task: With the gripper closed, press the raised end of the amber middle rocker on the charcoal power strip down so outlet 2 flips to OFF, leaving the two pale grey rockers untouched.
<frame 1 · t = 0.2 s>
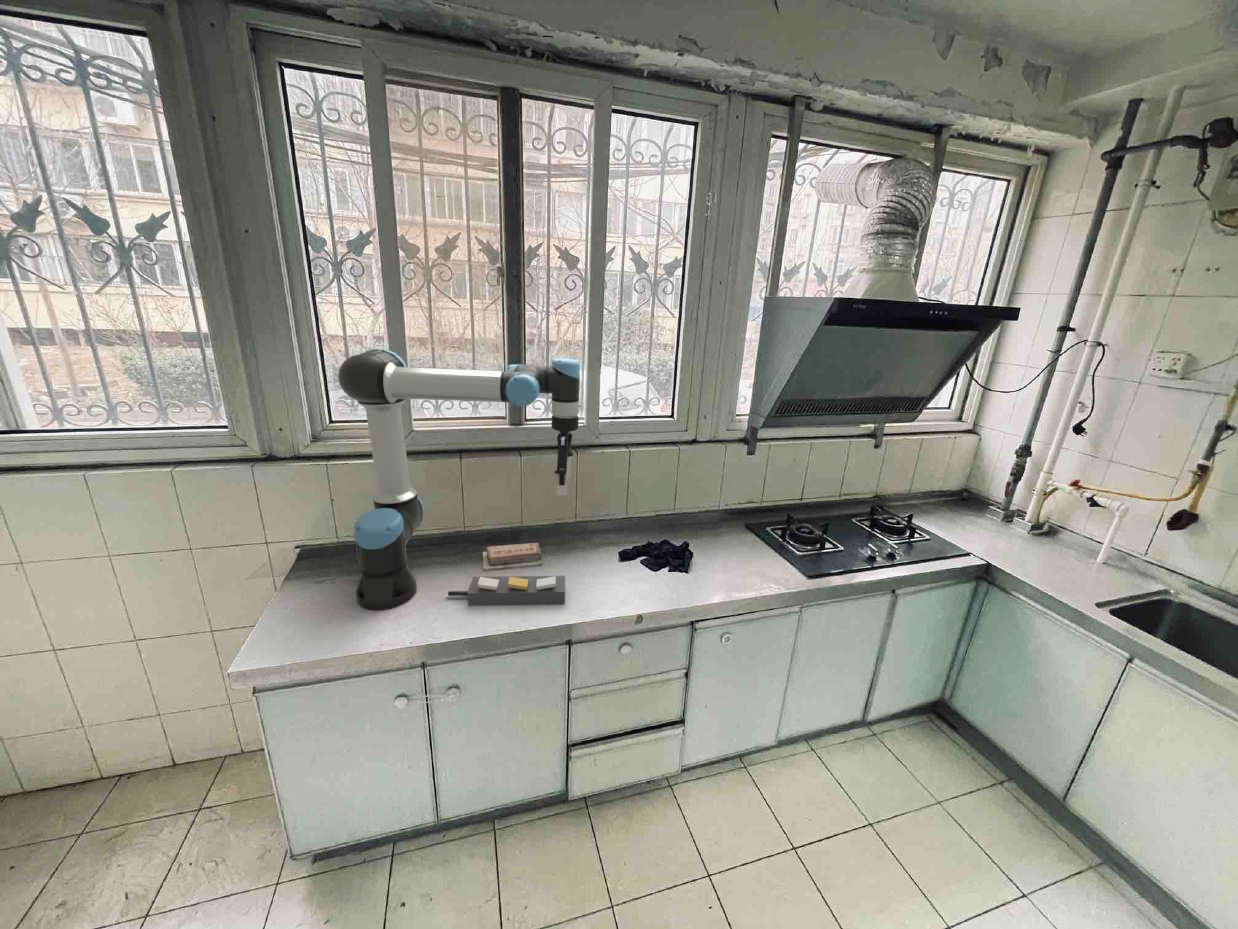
hand: (563, 485, 144), 28 cm above the table, fingers open, 13 cm apart
rocker 3: (546, 582, 135), point 5 cm above the table, hinge at -11.0°
power strip: (518, 596, 137), on the table
packaged product: (512, 561, 156), on the table
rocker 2: (518, 583, 134), point 5 cm above the table, hinge at 11.0°
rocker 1: (488, 583, 134), point 5 cm above the table, hinge at 11.0°
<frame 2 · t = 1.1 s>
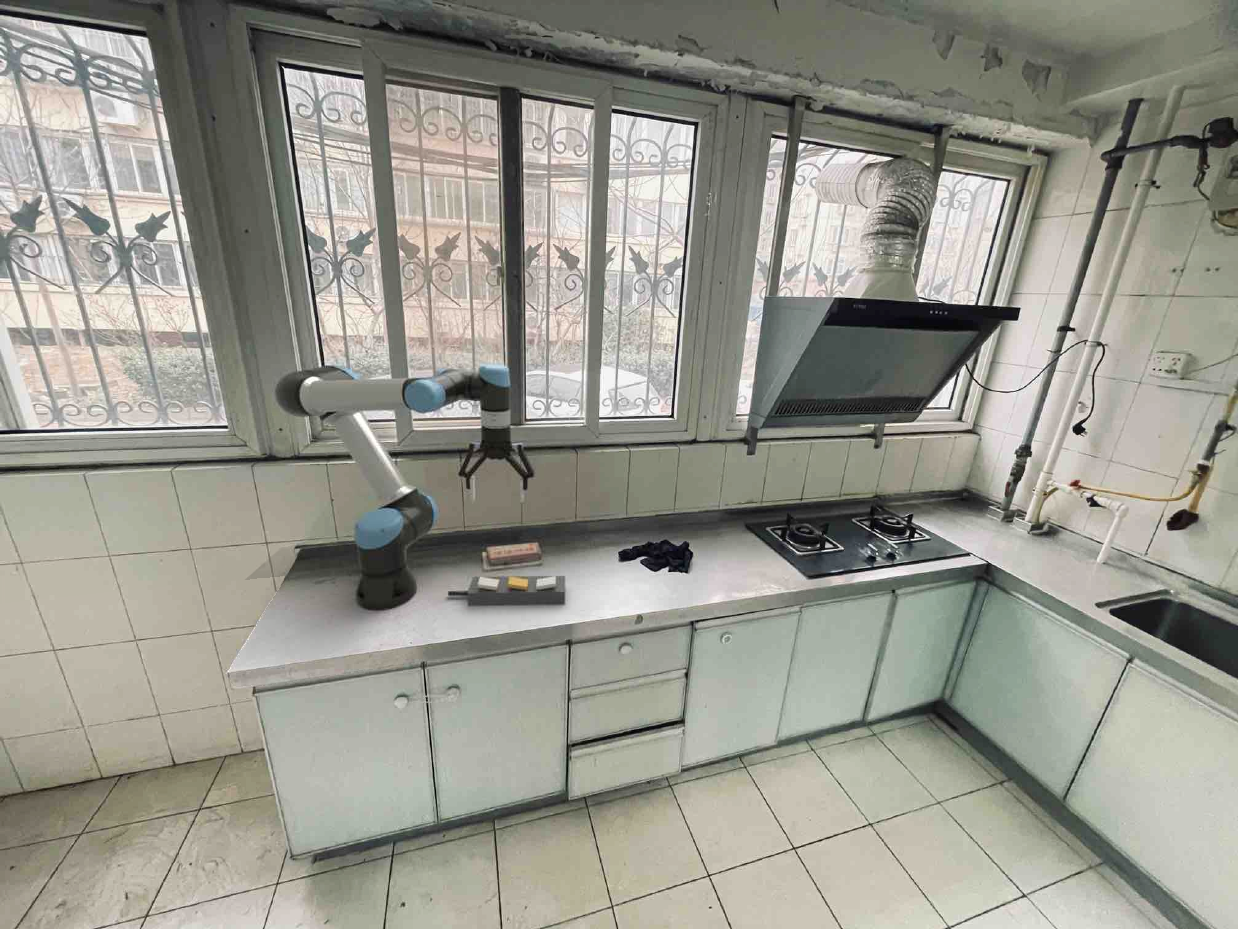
hand: (497, 500, 135), 26 cm above the table, fingers open, 12 cm apart
nothing on the table moved.
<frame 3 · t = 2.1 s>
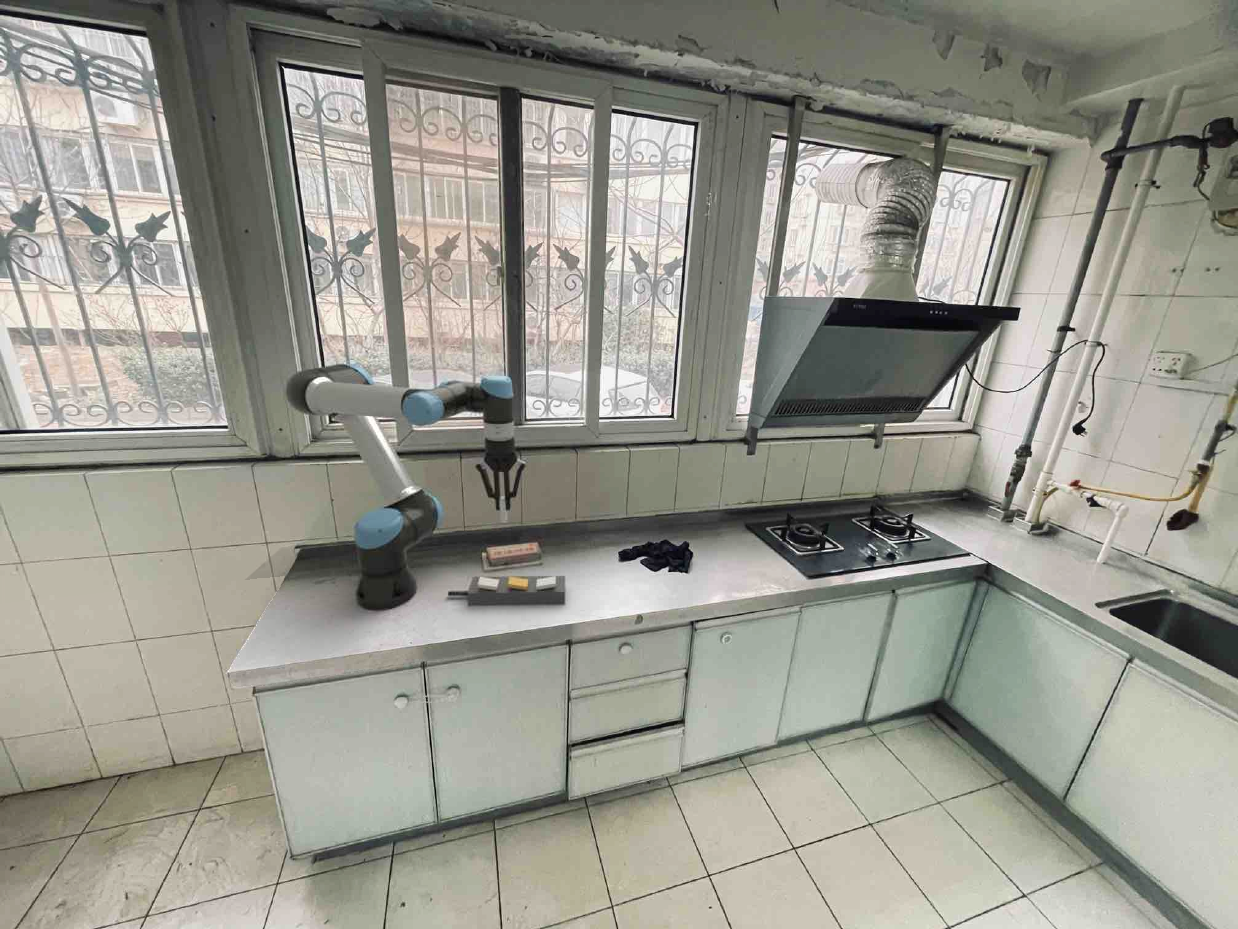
hand: (503, 520, 133), 22 cm above the table, fingers closed
nothing on the table moved.
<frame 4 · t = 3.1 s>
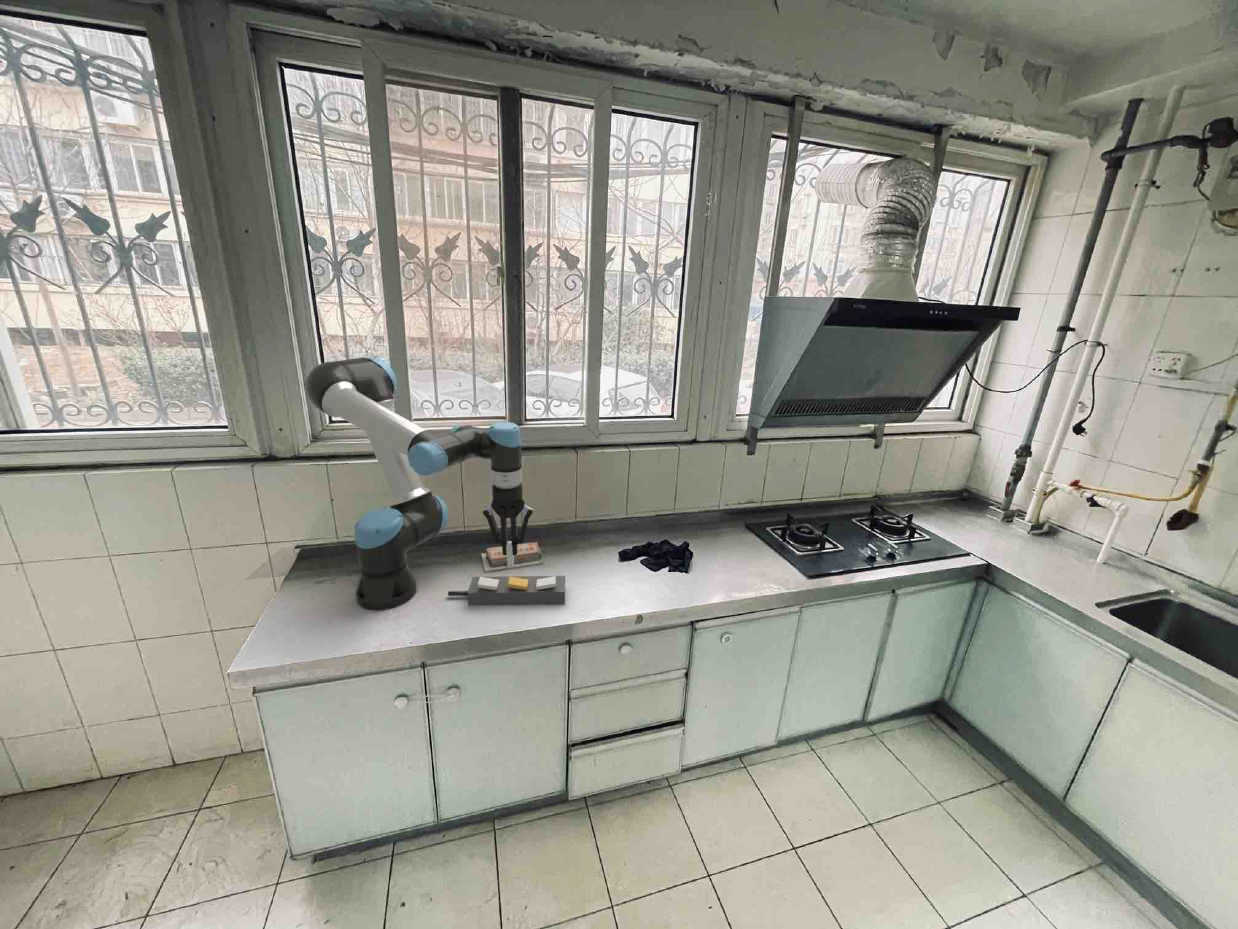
hand: (510, 565, 132), 11 cm above the table, fingers closed
nothing on the table moved.
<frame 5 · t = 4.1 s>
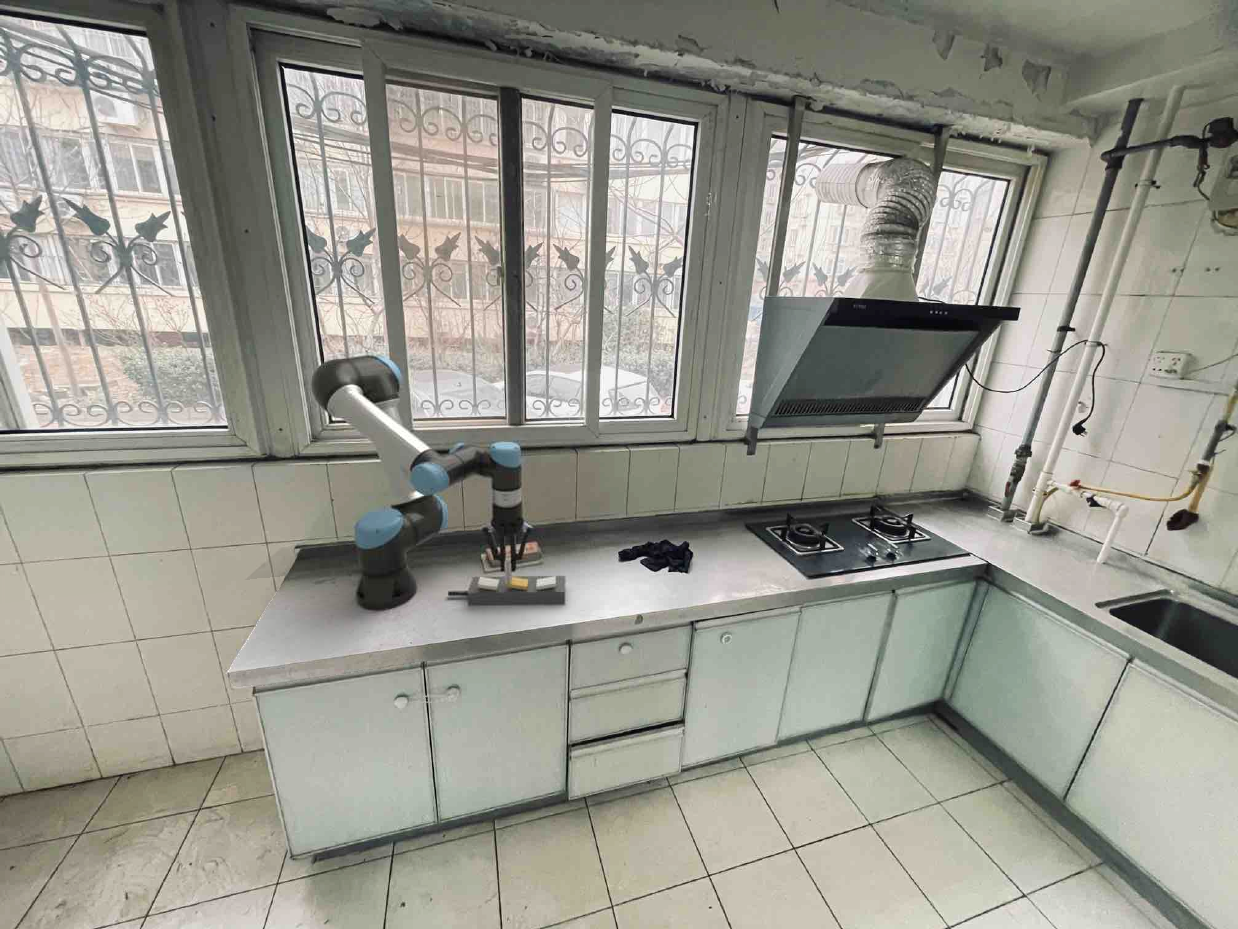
hand: (508, 581, 134), 6 cm above the table, fingers closed
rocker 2: (518, 583, 134), point 5 cm above the table, hinge at 10.2°, touching gripper
everything else where it was.
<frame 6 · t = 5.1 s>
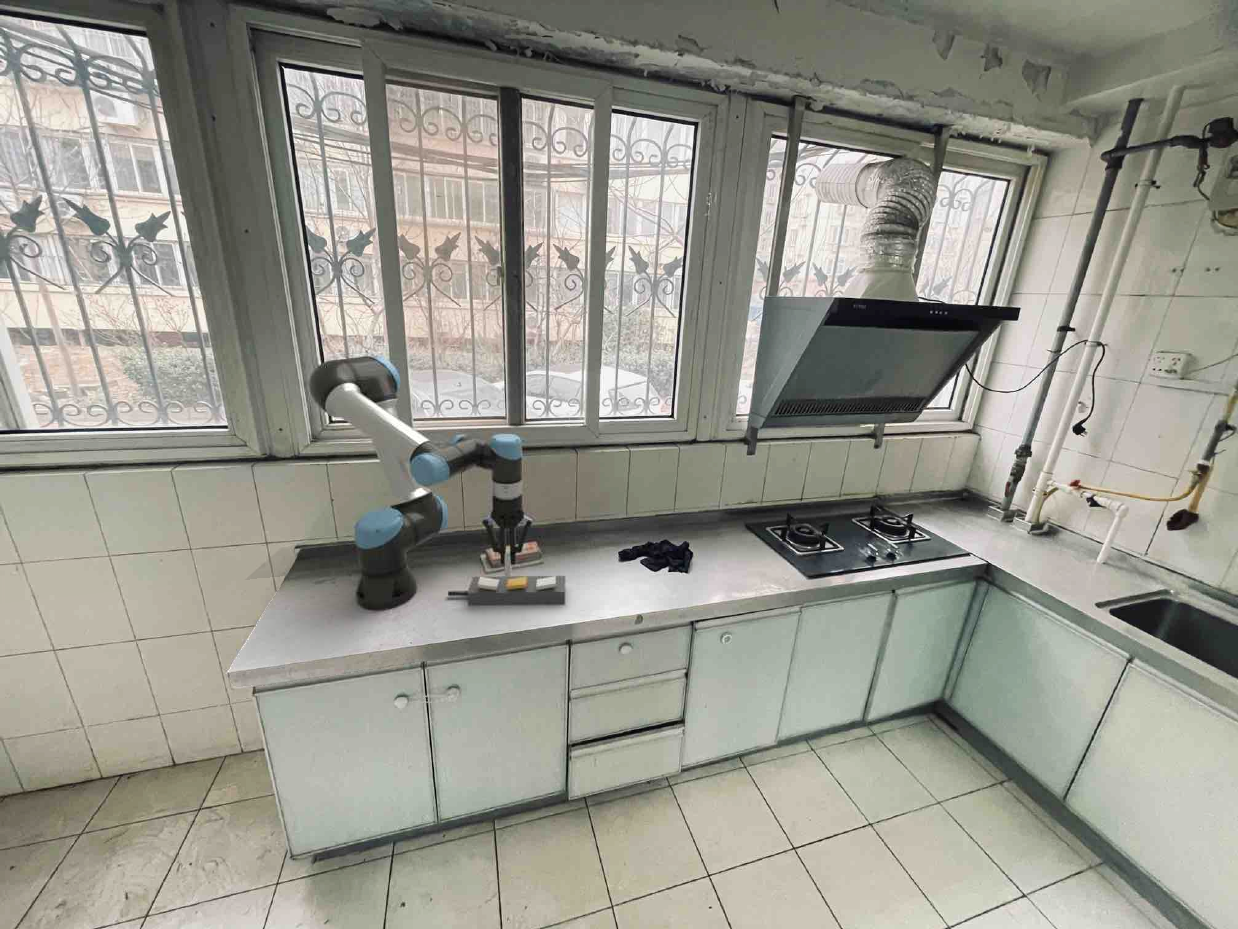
hand: (508, 573, 133), 8 cm above the table, fingers closed
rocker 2: (517, 583, 134), point 5 cm above the table, hinge at -8.4°
everything else where it was.
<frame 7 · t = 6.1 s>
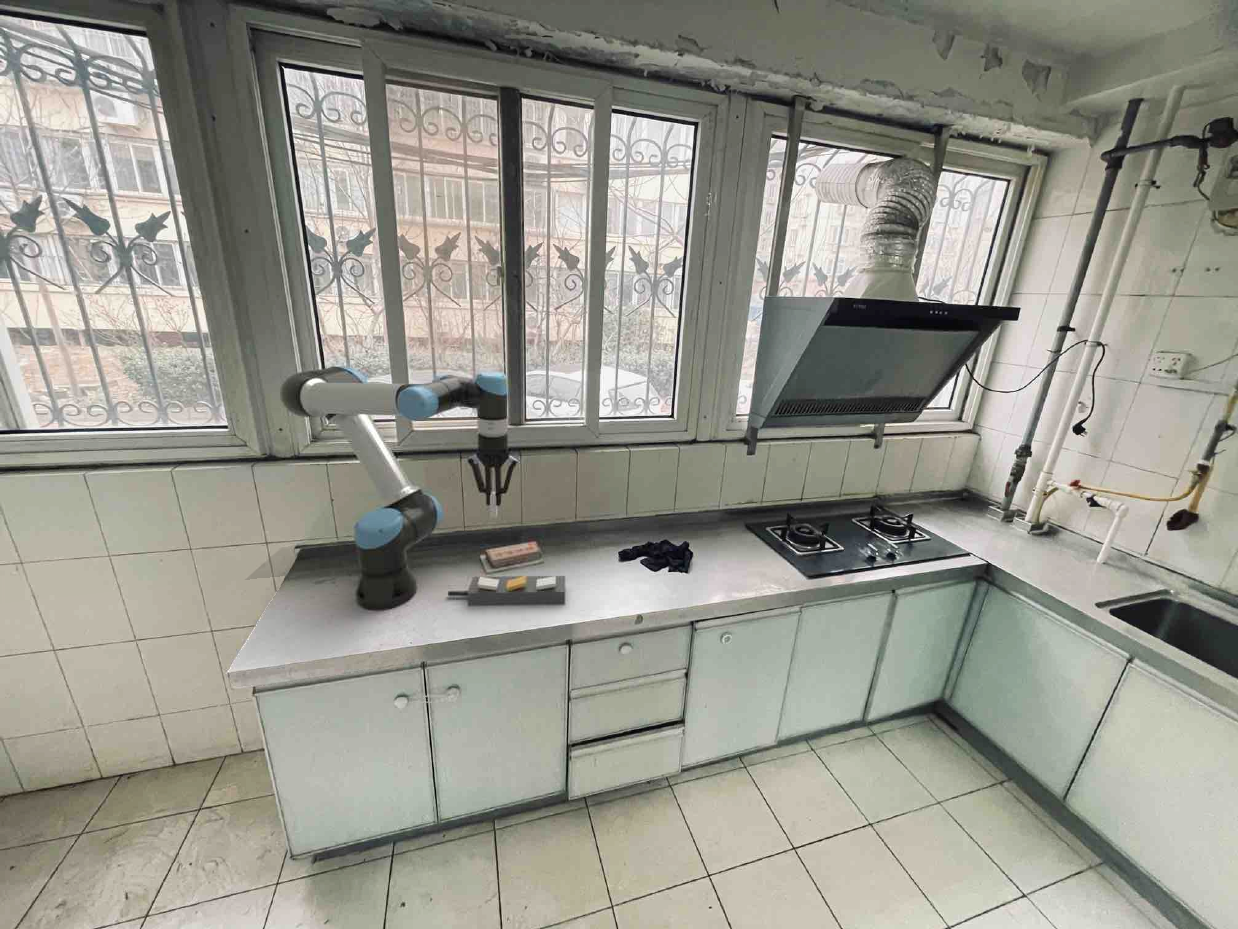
hand: (494, 515, 134), 23 cm above the table, fingers closed
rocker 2: (516, 583, 134), point 5 cm above the table, hinge at -17.6°, touching power strip
everything else where it was.
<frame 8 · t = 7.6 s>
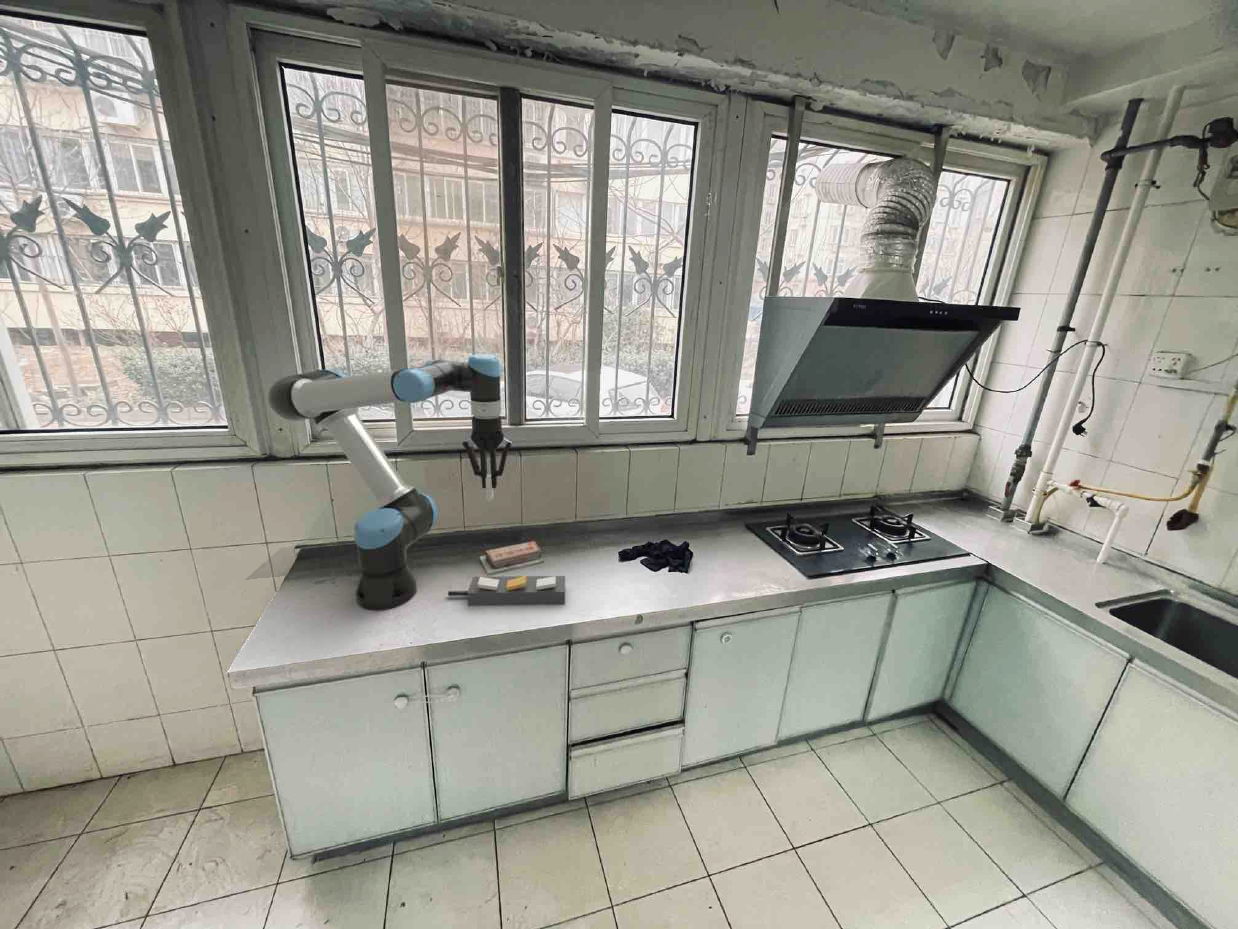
hand: (490, 498, 135), 26 cm above the table, fingers closed
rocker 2: (516, 583, 134), point 5 cm above the table, hinge at -16.4°
at the end: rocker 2 at -16° (first picture: +11°); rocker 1 at +11° (first picture: +11°); rocker 3 at -11° (first picture: -11°) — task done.
